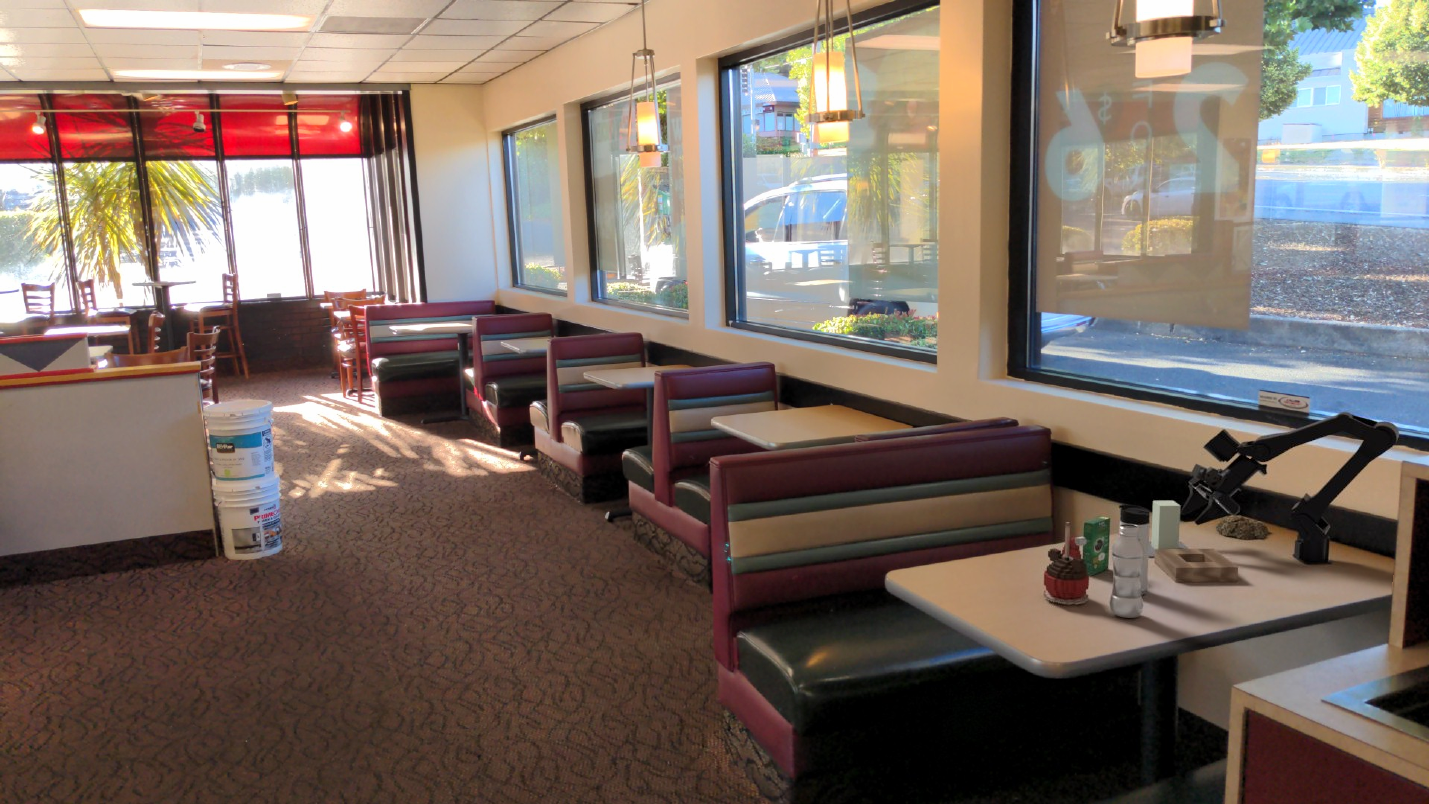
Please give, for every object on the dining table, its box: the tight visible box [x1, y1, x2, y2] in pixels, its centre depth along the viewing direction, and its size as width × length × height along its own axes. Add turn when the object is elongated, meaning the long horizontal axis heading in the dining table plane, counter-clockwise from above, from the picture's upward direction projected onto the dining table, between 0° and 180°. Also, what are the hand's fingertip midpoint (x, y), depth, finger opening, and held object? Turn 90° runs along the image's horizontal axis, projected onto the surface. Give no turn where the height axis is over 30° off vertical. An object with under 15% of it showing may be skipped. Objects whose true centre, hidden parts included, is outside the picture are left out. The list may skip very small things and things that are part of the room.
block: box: [1150, 500, 1181, 549], centre depth 263 cm, size 5×5×12 cm
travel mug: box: [1118, 503, 1151, 596], centre depth 234 cm, size 6×7×20 cm
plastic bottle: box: [1109, 524, 1144, 619], centre depth 220 cm, size 6×7×20 cm
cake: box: [1043, 521, 1090, 605], centre depth 230 cm, size 11×9×18 cm
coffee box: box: [1081, 515, 1111, 577], centre depth 249 cm, size 8×3×13 cm, turn 129°
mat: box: [1148, 540, 1190, 559], centre depth 264 cm, size 12×12×1 cm
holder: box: [1154, 548, 1239, 583], centre depth 247 cm, size 14×14×4 cm
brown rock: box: [1215, 514, 1269, 541], centre depth 276 cm, size 13×12×5 cm
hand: (1188, 518), depth 262 cm, fingers open, 9 cm apart
